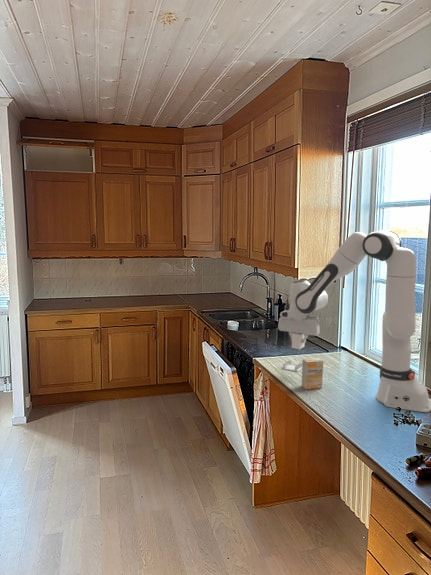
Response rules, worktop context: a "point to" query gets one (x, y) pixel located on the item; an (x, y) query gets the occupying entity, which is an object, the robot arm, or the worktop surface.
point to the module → (297, 340)
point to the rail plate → (292, 367)
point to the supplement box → (312, 373)
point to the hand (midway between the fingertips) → (298, 341)
